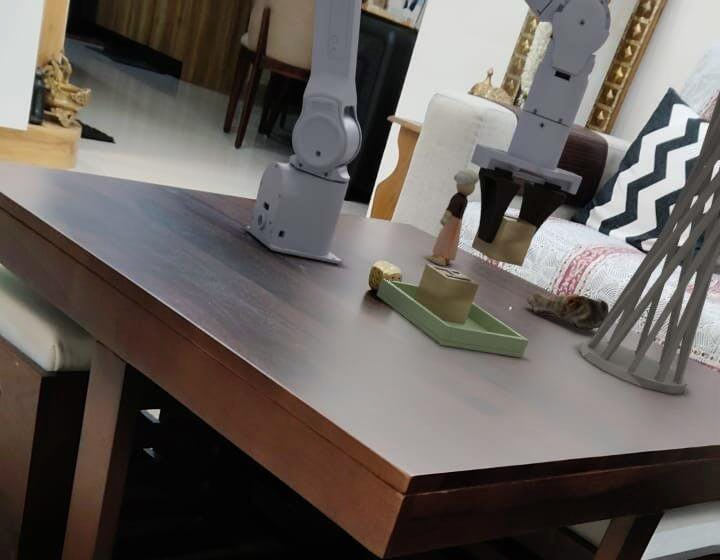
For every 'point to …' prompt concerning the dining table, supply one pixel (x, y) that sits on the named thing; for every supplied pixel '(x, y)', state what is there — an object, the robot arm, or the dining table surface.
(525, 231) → the wooden i block
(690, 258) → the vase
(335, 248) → the dining table surface
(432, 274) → the wooden h block
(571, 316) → the rock
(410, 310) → the tray
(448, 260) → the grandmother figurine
